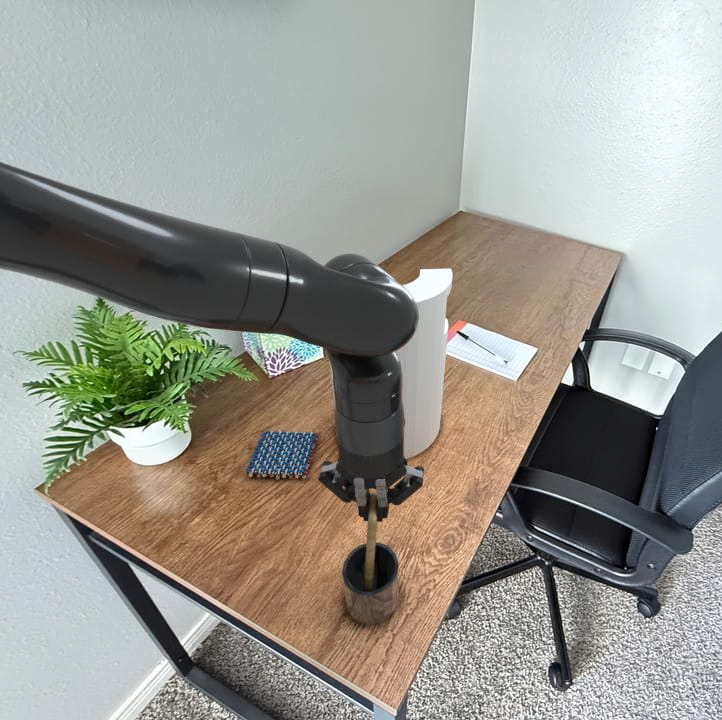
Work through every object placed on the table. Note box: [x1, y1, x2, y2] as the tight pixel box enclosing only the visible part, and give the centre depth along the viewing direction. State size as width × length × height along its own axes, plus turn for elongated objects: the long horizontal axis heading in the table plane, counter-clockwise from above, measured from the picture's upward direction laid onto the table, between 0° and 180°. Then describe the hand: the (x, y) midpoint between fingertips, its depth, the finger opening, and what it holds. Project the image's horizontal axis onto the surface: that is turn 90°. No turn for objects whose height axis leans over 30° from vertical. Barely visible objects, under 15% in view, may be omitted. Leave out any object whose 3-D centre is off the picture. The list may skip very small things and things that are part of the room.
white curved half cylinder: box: [328, 268, 454, 460], centre depth 82 cm, size 35×11×21 cm
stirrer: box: [363, 492, 378, 592], centre depth 62 cm, size 9×1×13 cm, turn 2°
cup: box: [341, 541, 400, 626], centre depth 66 cm, size 7×7×9 cm
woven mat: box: [245, 430, 319, 481], centre depth 86 cm, size 10×11×2 cm
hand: (374, 515), depth 63 cm, fingers closed on stirrer, 1 cm apart
